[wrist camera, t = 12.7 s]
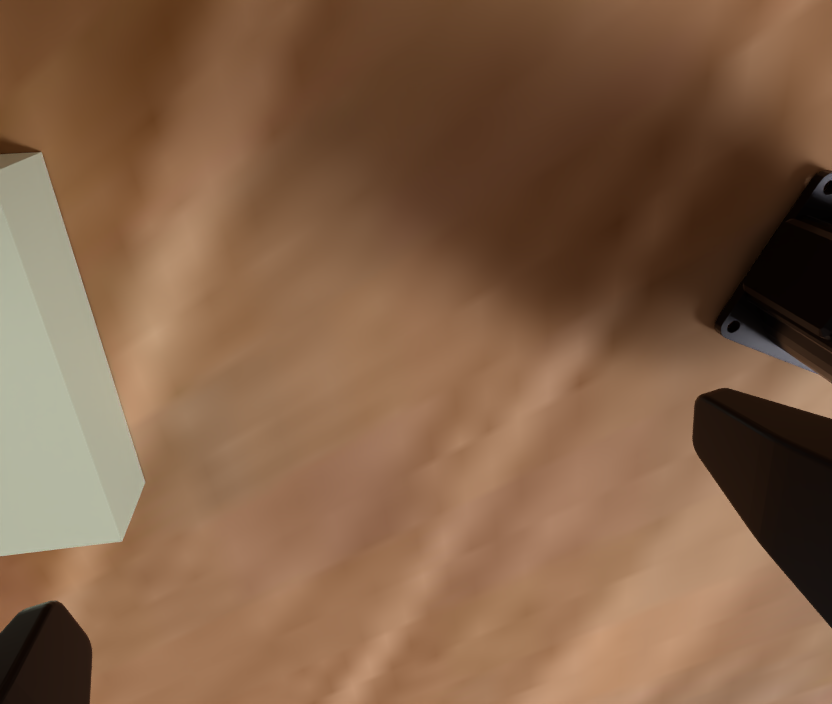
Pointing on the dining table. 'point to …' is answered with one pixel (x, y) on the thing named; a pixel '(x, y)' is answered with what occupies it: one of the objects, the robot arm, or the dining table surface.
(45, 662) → the robot arm
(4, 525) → the slotted base
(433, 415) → the dining table surface
